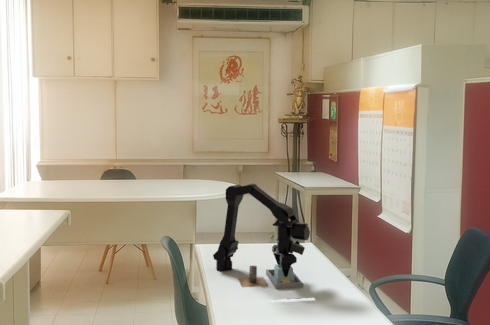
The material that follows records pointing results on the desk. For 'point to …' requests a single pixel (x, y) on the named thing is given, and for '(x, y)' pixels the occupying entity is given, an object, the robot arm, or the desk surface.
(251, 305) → the desk surface
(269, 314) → the desk surface
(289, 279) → the sleeve
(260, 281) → the stake
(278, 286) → the tray
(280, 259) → the robot arm
